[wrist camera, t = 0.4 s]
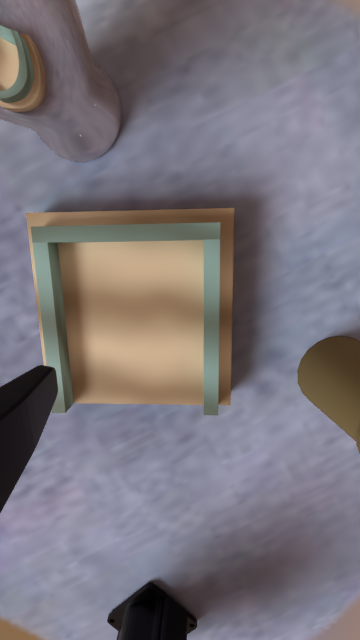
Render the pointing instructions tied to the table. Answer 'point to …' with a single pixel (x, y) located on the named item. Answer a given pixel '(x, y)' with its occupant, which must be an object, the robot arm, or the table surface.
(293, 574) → the table surface
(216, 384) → the dock
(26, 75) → the silver metal tumbler
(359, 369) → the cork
